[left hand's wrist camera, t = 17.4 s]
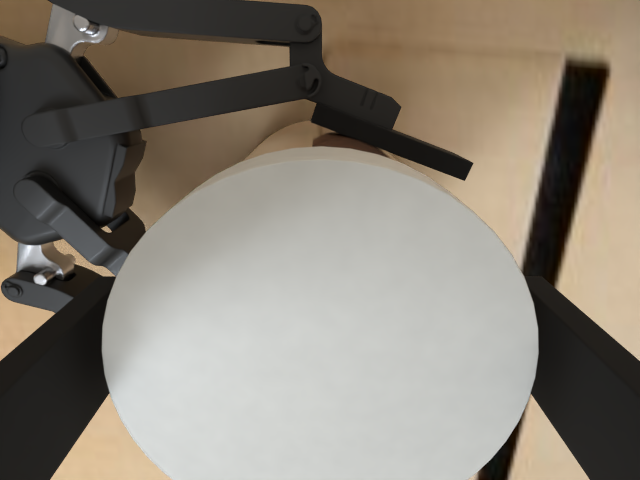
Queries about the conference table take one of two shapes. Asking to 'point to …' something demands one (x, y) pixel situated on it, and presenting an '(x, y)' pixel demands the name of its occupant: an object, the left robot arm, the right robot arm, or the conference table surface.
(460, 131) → the conference table surface
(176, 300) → the lid
